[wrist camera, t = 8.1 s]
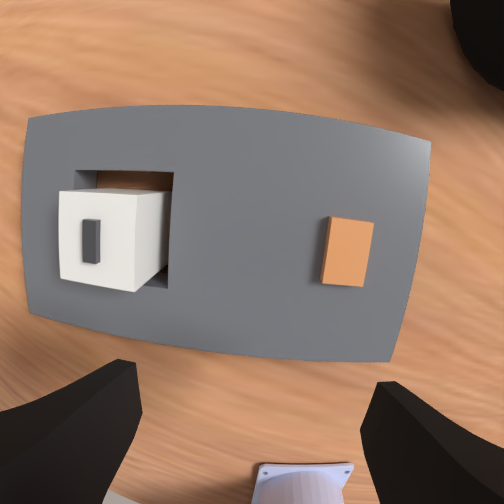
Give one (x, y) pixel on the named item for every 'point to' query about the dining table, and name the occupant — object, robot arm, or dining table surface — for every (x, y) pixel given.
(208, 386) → the dining table surface
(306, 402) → the dining table surface
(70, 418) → the robot arm
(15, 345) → the dining table surface
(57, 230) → the grey square-hole board
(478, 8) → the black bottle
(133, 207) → the block
